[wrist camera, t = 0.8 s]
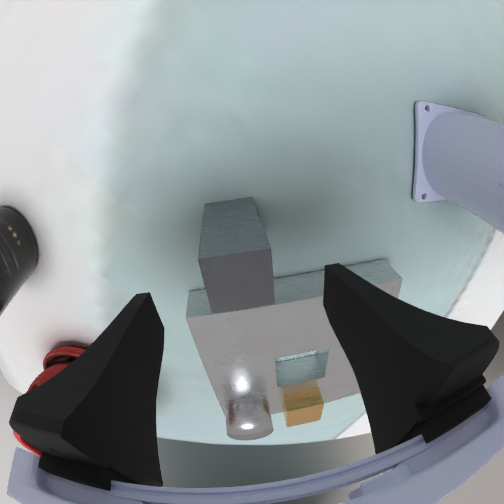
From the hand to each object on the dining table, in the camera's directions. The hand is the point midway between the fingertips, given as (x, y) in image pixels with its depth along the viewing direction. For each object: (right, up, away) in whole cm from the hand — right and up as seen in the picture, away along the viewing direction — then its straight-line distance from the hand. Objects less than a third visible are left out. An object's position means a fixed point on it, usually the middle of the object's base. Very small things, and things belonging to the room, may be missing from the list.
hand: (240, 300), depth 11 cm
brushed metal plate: (+4, -7, +14) cm, 16 cm away
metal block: (-1, +4, +7) cm, 8 cm away
